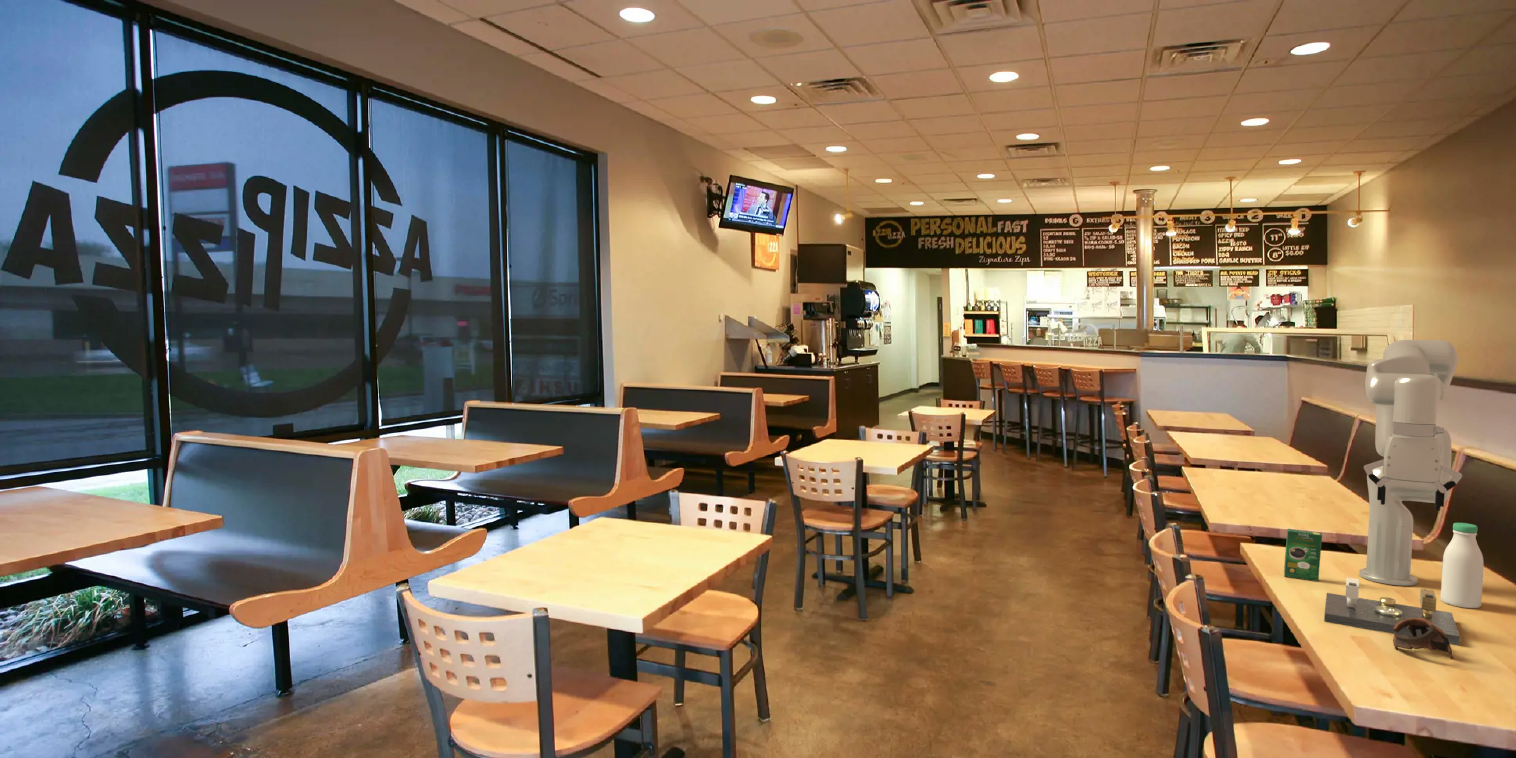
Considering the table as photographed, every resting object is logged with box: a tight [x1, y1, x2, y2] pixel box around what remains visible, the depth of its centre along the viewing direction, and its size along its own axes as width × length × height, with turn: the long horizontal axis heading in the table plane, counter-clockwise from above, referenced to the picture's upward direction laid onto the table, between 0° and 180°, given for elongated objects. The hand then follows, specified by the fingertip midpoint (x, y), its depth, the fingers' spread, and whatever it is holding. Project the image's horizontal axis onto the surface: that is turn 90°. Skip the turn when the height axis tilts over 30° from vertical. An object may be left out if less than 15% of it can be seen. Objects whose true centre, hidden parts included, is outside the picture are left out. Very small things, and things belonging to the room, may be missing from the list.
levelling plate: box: [1323, 592, 1461, 646], centre depth 191 cm, size 18×24×4 cm
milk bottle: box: [1440, 522, 1484, 609], centre depth 203 cm, size 8×8×20 cm
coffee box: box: [1283, 528, 1323, 582], centre depth 223 cm, size 8×3×13 cm, turn 58°
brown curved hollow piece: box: [1392, 617, 1454, 660], centre depth 174 cm, size 12×10×8 cm
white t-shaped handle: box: [1345, 577, 1360, 607], centre depth 195 cm, size 7×2×6 cm, turn 144°
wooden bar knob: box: [1419, 588, 1437, 619], centre depth 187 cm, size 7×2×6 cm, turn 144°
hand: (1409, 506), depth 184 cm, fingers open, 9 cm apart
